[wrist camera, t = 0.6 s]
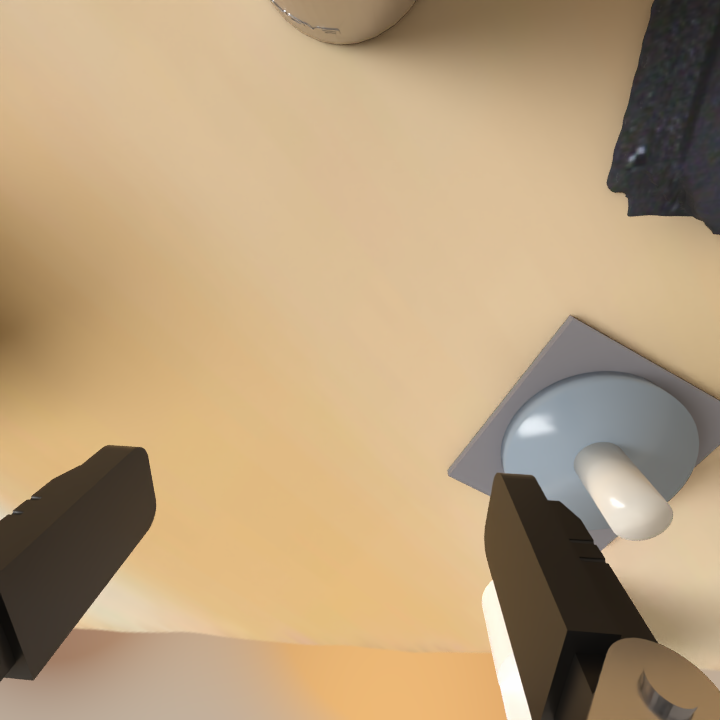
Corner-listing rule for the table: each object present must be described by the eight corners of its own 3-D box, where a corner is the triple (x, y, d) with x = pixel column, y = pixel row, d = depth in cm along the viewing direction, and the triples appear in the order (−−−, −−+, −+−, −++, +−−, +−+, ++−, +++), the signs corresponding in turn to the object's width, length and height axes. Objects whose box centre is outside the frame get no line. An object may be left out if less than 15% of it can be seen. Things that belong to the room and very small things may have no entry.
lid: (576, 339, 25) (632, 386, 19) (725, 422, 26) (821, 491, 21) (467, 471, 30) (485, 543, 24) (599, 537, 31) (647, 620, 25)
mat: (570, 315, 25) (573, 318, 25) (742, 413, 27) (749, 418, 26) (447, 470, 30) (448, 475, 30) (597, 544, 32) (601, 550, 32)
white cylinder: (519, 646, 38) (571, 835, 27) (461, 593, 36) (491, 774, 25) (608, 608, 35) (707, 802, 24) (551, 547, 33) (631, 730, 22)
